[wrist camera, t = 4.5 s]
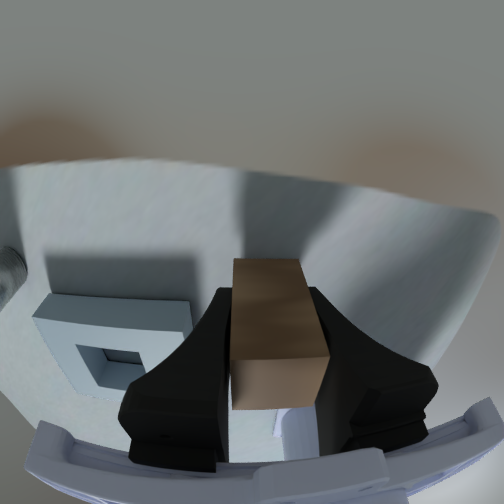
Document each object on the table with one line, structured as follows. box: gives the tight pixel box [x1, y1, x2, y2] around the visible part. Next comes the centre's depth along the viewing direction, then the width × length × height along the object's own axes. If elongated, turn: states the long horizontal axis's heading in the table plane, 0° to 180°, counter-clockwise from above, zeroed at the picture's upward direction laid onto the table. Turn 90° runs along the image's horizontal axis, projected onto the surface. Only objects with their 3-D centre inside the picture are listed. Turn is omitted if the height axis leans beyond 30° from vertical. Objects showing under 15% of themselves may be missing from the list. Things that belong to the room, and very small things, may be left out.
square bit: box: [230, 258, 330, 410], centre depth 11 cm, size 3×3×6 cm
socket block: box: [32, 293, 193, 402], centre depth 16 cm, size 10×8×2 cm
